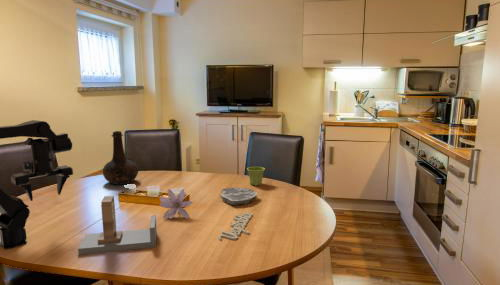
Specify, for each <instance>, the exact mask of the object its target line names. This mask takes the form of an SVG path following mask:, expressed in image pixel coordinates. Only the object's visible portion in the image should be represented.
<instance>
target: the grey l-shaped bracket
mask: <svg viewBox="0 0 500 285" xmlns="http://www.w3.org/2000/svg"><path fill="white" fill-rule="evenodd" d="M121 231H122V237H121V241H120V242H109V243H98V238H99V236H100V234H101V232H99V233H98V232H97V233H86V234H85V235H84V237H83V239H82V241H81V242H80V244H79V246H78V248H77V253H78V255H79V256H80V255H88V254H97V253H98V254H99V253H108V252H119V251H121V252H122V251H128V250H129V251H130V250H138V249H149V248H156V247H157V246H156V245H157V234H158V233H157V215H156V214H155V215H152V214H151V215H150V223H149V228H143V229H141V228H140V229H131V230H121Z"/></svg>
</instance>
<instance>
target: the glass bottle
mask: <svg viewBox="0 0 500 285" xmlns="http://www.w3.org/2000/svg"><path fill="white" fill-rule="evenodd" d="M123 136H124V134H122V131H118V130H116V131H113V132H112V135H111V137H112V139H113V140H112V143H113V144H112V146H113V147H112V158H111V160H110V161H108V162H107V163H106V164H104V166H103V168H102V175H103V177H104V179H105V180H106V182H108V183H110V184H113V185H126V184H129V183H132V182H133V181H134V180H135V179H136V178H137V176H138V174H139V167H138V164H137V163H136V162H135V161H134V160H133V159H131V158H127V156H126V153H125V150H124V144H123V143H124V142H123Z"/></svg>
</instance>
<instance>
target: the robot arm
mask: <svg viewBox="0 0 500 285" xmlns="http://www.w3.org/2000/svg"><path fill="white" fill-rule="evenodd" d="M17 137H25V138H27V139H26V140H25V141H23V145H26V146H30V151H31V159H30V161H27V160H26V161H22V162H21V168H22V171H23V172H20V173H19V172H18V173H14V174H12V175H11V176H10V182H11V183H12V185H13V184H14V185H15V186H19V187H21V188H23V190H24V191H25V193H26V195H27V198H28V199H29V201H30V202H33V201H34V200H33V199H34V198H33V196H34V195H33V191H32V190H33V189H32V185H31V183H29V182H30V180H35V179H36V180H37V179H40V178H42V179H43V178H46V177H51V176H55V177H56V185H57V186H56V191H57V195H58V196H60V195H61V193H62V191H63V188H64V185H65V183H66V182H67V180H68V178H70V176H72V175H74V170H73V168H72V166H68V165H67V164H66V165H61V166H56V168H55V169H53V168H52V161H53V159H52V157H51V153H53V154H58V153H64V152H70V151H71V150H72V148H73V142H72V140H71V137H69V134H68V133H67V132H66V133H65V132H63V133H59V134H58V133H57V134H56V132H54V131H53V130H52V128H51V126H50V124H49V123H48V122H47V121H43V120H35V119H34V120H29V121H24V122H20V124H19V123H18V124H15V125H5V126H3V125H2V126H0V140H3V139H10V138H17ZM26 171H28V173H30V174H27V173H25V172H26ZM28 207H29V205H28V204H26V203H25V202H24V200H23V199H21V198H20V197H16V196H14V195H10V196H9V195H8V194H7V193H5V192H4V191H3V190H2V189H1V188H0V246H1V247H2V248H3V249H4V250H9V249H12V248H16V247H19V246H23V245H26V244H27V243H28V242H27V232H26V228H25V227H26V224H27V220H28V218H29V216H30V213H31V210H30V209H29V208H28Z"/></svg>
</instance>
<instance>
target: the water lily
mask: <svg viewBox="0 0 500 285" xmlns="http://www.w3.org/2000/svg"><path fill="white" fill-rule="evenodd" d="M167 195H168V197H169V198H168V197H160V198H159V201H160V203H159V206H160V207H161V208H164V209H168V210H167V211H165V212H164V214H163V216H162V219H163V220H167V219H168V218H169V219H173V218H174V217H175V215H176V214H177V213H179V215H181V216H182V217H184V218H185V219H190V214H189V213H188V211H186V209H185V208H186V207H188V206H191V205H193V204H194V202H193V201H191V200H187V201H184V199H185V196H186V192H185V188H182V189H181V190H180V191H179V193H178V195H177V196H176V195H175V193H174V192H173V190H171V189H168V188H167Z"/></svg>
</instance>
